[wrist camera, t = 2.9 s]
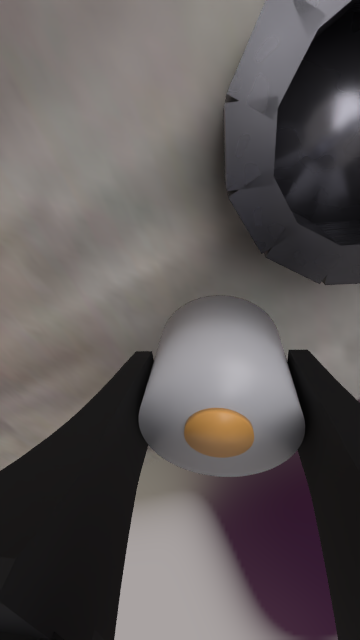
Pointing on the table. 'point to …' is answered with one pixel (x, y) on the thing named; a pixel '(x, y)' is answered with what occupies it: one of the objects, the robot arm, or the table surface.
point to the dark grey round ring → (299, 137)
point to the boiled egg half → (221, 391)
